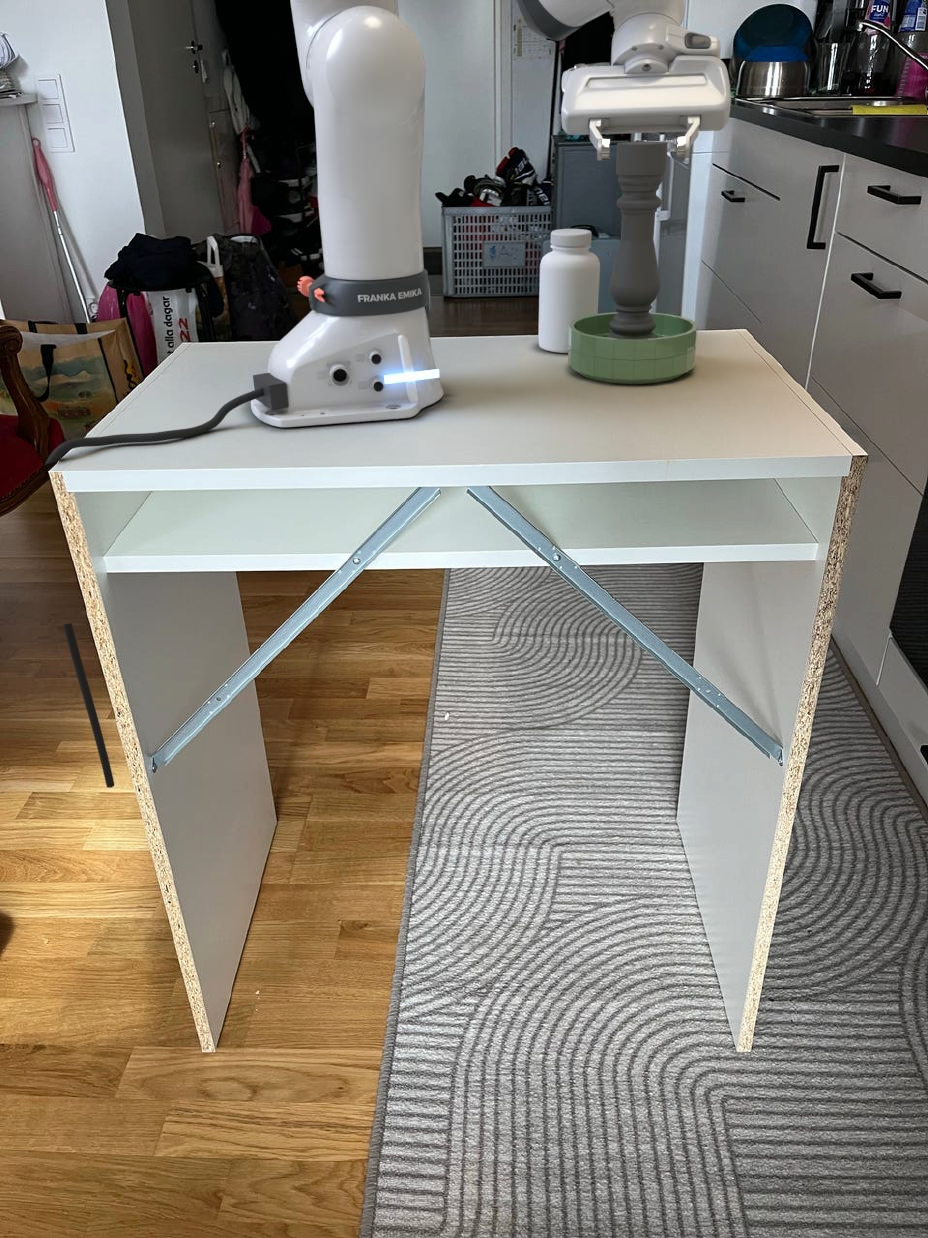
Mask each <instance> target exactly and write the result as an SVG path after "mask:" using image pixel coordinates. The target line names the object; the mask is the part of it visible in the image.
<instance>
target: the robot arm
mask: <svg viewBox="0 0 928 1238" xmlns="http://www.w3.org/2000/svg"><path fill="white" fill-rule="evenodd" d="M516 2H517V5H518V8H519V11H520V13H521V16H522V18H523V20H524V22H525V24H526V26H527V27H528V29H530V30H531V31H532V32H533V33H535V34H536V35H539V36H541V37H543V38H546V39H549V40H552V41H556V42H558V41H559V42H560V41H562V40H564V39H565V38H567V37H568V36H570V35H572V34H573V33H575V32H576V31H578V30H579V29H581V28H582V27H583V26H585V25H586V24H587V23H588V22H591V21H592V20H595V19H596V18H599V17H600V16H602V15H604V14H606V13H607V12H610V11H612V10H613V14H612V15H613V24H614V32H613V35H612V39H611V54H610V62H595V63H587V64H586V63H577V64H574V67H570V68H568V69H566V70H565V71H563V72H562V76H561V83H560V89H561V91H562V94H563V96H562V102H561V113H560V115H561V117H560V118H561V119H560V121H561V128H562V130H563V131H564V133H566V134H567V135H568V136H587V135H588V136H589V141H590V142H591V144H592V145H593V147H594V148H595V149H596V154H597V155H596V161H610V153H611V151H610V150H611V139H610V138H603V135H620V134H624V135H625V134H651V133H652V134H653V133H656V134H657V133H685V132H686V133H685V135H684V136H677V139H676V154H675V155H676V156H675V158H676V159H689V157H690V150H691V147H692V145H693V144H694V143H695V142H696V140H697V139H698V137H699V134H700V133H699V132H719V131H722V130H723V129H724V128H725V127H726V126H727V125H728V123H729V119H730V114H731V106H732V95H731V84H730V77H729V72H728V69H727V66H726V64H725V63H724V61H723V60H722V59H721V40H720V38H719V37H717V36H715V35H710V34H705V33H702V32H697V31H693V30H690V29H687V28H684V27H682V24H683V21H684V17H685V10H686V9H685V5H686V1H685V0H516ZM290 8H291V15H292V22H293V28H294V29H293V30H294V36H295V43H296V48H297V57H298V62H299V69H300V74H301V80H302V86H303V89H304V92H305V95H306V97H307V100H308V101H309V103H310V105H311V106H312V108H313V111H314V125H315V126H314V127H315V143H316V168H317V170H316V171H317V172H316V173H317V203H318V205H317V206H318V214H319V215H318V216H319V225H320V237H321V247H322V257H323V267H324V269H323V270H324V272H323V274H321V275H320V276H318V277H317V278H316V279H314V278H312V277H310V276H308V275H305V276H301V277H300V278H299V280H300V281H299V280H298V281H297V284H298V285H297V289H298V292H300V293H301V294H302V295H303V296H305V297H308V302H309V307H310V309H311V310H310V311H309V313H308V314H307V315H306V316H304V317H303V318H302V319H301V320H300V321H299V322H298V323H297V324H296V325H295V326H293V328H292V329H291V330H290V331H289V332H288V333H287V334H286V335H284V336H283V337H282V338H281V339H280V340H279V341H278V342H277V343H276V344H275V345H274V346H273V347H272V349H271V351H270V354H269V357H268V364H267V372H264V373H258V374H252V381H253V388H254V390H252V391H249V392H246V393H243V394H242V395H239V396H236V397H234V398H233V399H231V400H229V401H228V402H226V403H225V404H223V405H222V406H221V407H220V408H219V409H218V411H217V412H216V414H214V416H213V417H212V418H211V419H210V420H207V421H206V422H204V423H202V424H199V425H196V426H193V427H188V428H180V429H173V430H171V429H170V430H165V431H164V430H163V431H156V432H145V433H119V434H111V435H104V436H94V437H93V436H92V437H91V436H90V437H89V436H88V437H77V438H73V439H69V440H66V441H64V442H62V443H61V444H59V445H57V446H56V448H54V450H53V451H52V452H51V453H50V454H49V456H48V458H47V460H46V461H45V464H48V465H49V464H55V463H57V462H59V460H60V459H61V458H62V457H63V456H64V455H65V454H66V453H67V452H69V451H71V450H73V449H78V448H88V447H104V446H110V445H119V444H134V443H135V444H137V443H155V442H162V441H163V442H164V441H170V440H176V439H177V440H178V439H186V438H191V437H195V436H199V435H202V434H205V433H207V432H209V431H211V430H213V429H214V428H216V427H217V426H219V425H220V424H221V423H222V421H223V420H224V419H225V417H226V416H227V415H228V414H229V413H230V412H232V411H233V410H234V409H236V408H238V407H239V406H242V405H244V404H247V403H249V402H250V409H251V412H252V413H253V415H254V417H256V418H257V419H258V420H260V421H261V422H262V423H264V424H266V425H270V426H273V427H278V428H297V427H309V426H321V425H322V426H323V425H333V424H334V425H335V424H346V423H360V422H371V421H386V420H399V419H409V418H413V417H414V416H416V415H418V414H419V413H420V411H421V410H422V409H424V408H426V407H428V406H431V405H433V404H435V403H436V402H438V401H439V400H441V399H442V398H443V396H444V390H443V387H442V383H441V381H440V369H439V368H437V366H436V362H435V358H434V353H433V348H432V347H433V346H432V342H431V335H430V328H429V327H430V326H429V321H430V318H431V314H430V311H431V290H430V288H431V287H430V282H429V275H428V273H429V272H428V270H427V269H426V268H425V266H424V245H423V244H424V243H423V223H422V220H423V219H422V174H423V173H422V172H423V171H422V170H423V158H424V140H425V139H424V138H425V108H426V107H425V106H426V101H425V100H426V79H427V78H426V77H427V76H426V75H427V74H426V73H427V71H426V60H425V56H424V53H423V49H422V46H421V45H420V42H419V40H418V39H417V37H416V35H415V34H414V32H413V31H412V29H411V28H410V27H409V25H407V23H406V22H405V21H404V20H402V19H401V17H400V11H399V0H290ZM62 627H63V631H64V635H65V638H66V642H67V646H68V650H69V653H70V657H71V661H72V664H73V668H74V671H75V674H76V675H75V676H76V678H77V681H78V685H79V688H80V691H81V695H82V699H83V702H84V706H85V710H86V712H87V716H88V719H89V724H90V727H91V730H92V734H93V736H94V737H93V738H94V741H95V745H96V749H97V752H98V756H99V760H100V764H101V769H102V773H103V777H104V781H105V785H106V788H110V789H111V788H114V787H115V782H114V781H115V780H114V776H113V771H112V767H111V763H110V759H109V755H108V752H107V747H106V744H105V739H104V735H103V732H102V728H101V725H100V720H99V717H98V714H97V709H96V706H95V702H94V699H93V696H92V691H91V689H90V686H89V681H88V678H87V675H86V671H85V668H84V667H85V666H84V664H83V660H82V657H81V654H80V649H79V646H78V642H77V637H76V633H75V631H74V627H73V623H72V622H69V623H65V624H64V623H63V624H62Z"/></svg>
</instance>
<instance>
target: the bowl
mask: <svg viewBox="0 0 928 1238" xmlns="http://www.w3.org/2000/svg"><path fill="white" fill-rule="evenodd" d="M616 314H617V311H616V312H603V313H598V314H595V315H590V316H586V317H581V318H579V319H577V320H574V321H572V322H571V324H570V325H569V341H568V344H569V345H568V353H567V364H568V366H569V367H570V369H572V370H574V371H576V372H577V373H578V374H579V375H581V376H583V377H585V378H587V379H590V380H594V381H598V382H603V383H612V384H620V385H623V384H624V385H641V384H642V385H643V384H644V385H645V384H654V383H656V384H657V383H661V382H668V381H670V380H674V379H677V378H679V377H681V376H682V375H684V374H685V373H688V372H690V371H691V370H692V369H694V367H695V363H696V352H697V340H698V330H699V329H698V328H699V324H697V323H696V322H695V320H693V319H689V318H687V317H684V316H680V315H675V314H670V313H661V312H650V311H649V314H650V315H651V316H652V318H653V320H654V322H655V323H656V327H655V329H654V330H653V331H652V332H653V333H654V334H656V336H657V338H650V339H618V338H608V337H607V335H608V334H610V333H611V332H612V330H611V329H610V327H609V324H610V322H611V321H612V320H613V318H614V316H615V315H616Z"/></svg>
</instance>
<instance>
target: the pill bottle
mask: <svg viewBox="0 0 928 1238" xmlns="http://www.w3.org/2000/svg"><path fill="white" fill-rule="evenodd" d="M592 235H593V234H592V231H591V230H588V229H583V228H561V229H559V228H558V229H554V230H552V231H551V232H550V246H549V247H550V249H552V251H549V252H548V253H547V252H546V254H544V256H542V258H541V260H540V264H539V295H538V297H539V298H538V346H539V348H540V349H542V350H545V351H547V352H551V353H560V354H568V345H569V344H568V341H569V325H570V324H571V322H572V321H574V320H577V319H579V318H581V317H586V316H590V315H595V314H599V295H600V277H601V276H600V274H601V262H600V259H599V257H598V256H597V255H596V254H595V253H594V252H591V251H589V249H591V248H592V245H591V244H592V237H593V236H592Z"/></svg>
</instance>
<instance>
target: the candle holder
mask: <svg viewBox="0 0 928 1238" xmlns="http://www.w3.org/2000/svg"><path fill="white" fill-rule="evenodd" d="M668 146H669V142H668V141H660V140H659V141H658V140H657V141H655V140H651V141H649V140H644V141H643V140H642V141H625V142H624V141H623V142H617V143H616V159H615V160H616V164H615V174H616V176H618V178H617V181H618V184H619V185H620V190H621V191H622V195H621V197H619V198H618V199H617V200H616V207H617V208H618V209H619V210H620V213H621V224H620V225H621V227H620V241H619V245H618V249H617V252H616V256H615V260H614V263H613V268H612V272H611V275H610V280H609V282H608V283H609V284H608V289H609V294H610V296H611V298H612V300H613V301H614V303H615V304H616V305H614V308H615V309H616V312H617V314H616V315H615V316H614V318H613V320H612V321H611V322H610V324H609V327H610V329H611V330H612V332H611V333H610V334H608V335H607V337H608V338H618V339H650V338H657V336H656V334H654V333H653V332H652V331H653V330H654V329H655V327H656V323H655V322H654V320H653V318H652V316H651V315H650V314H649V312H650V311H651V310H652V309H653V306H652V304H653V302H655V300H656V299H657V297H658V295H659V294H660V290H661V278H660V271H659V266H658V259H657V253H656V246H655V240H654V239H655V224H656V213H657V212H658V209H659V208H660V207H661V206H662V204H663V200H662V199H661V198H660V197H659V196H658V195H657V191H658V190H659V189H660V186H661V184H662V183H663V181H664V175H665V174H666V173H667V163H668V162H667V161H668Z"/></svg>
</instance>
